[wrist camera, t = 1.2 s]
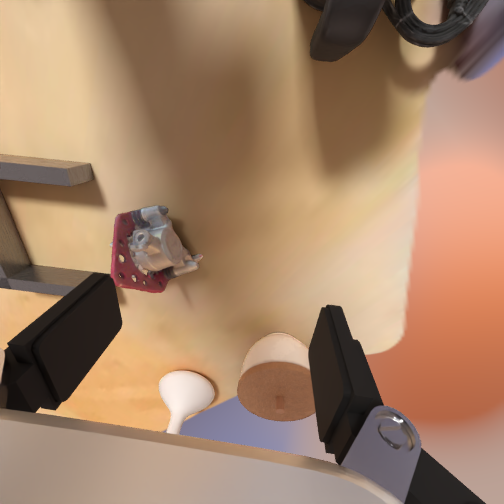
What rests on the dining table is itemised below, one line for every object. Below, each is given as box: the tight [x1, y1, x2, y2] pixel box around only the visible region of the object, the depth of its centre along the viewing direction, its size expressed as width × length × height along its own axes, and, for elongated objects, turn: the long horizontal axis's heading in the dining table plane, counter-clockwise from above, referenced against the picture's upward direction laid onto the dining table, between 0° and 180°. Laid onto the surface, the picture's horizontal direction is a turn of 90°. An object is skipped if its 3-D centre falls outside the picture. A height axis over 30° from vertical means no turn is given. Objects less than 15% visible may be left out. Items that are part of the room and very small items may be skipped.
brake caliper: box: [110, 205, 203, 293], centre depth 32 cm, size 11×11×12 cm
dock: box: [0, 154, 116, 296], centre depth 34 cm, size 19×16×4 cm
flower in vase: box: [159, 370, 215, 435], centre depth 40 cm, size 13×11×25 cm
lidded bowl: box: [237, 332, 316, 421], centre depth 39 cm, size 13×13×11 cm
